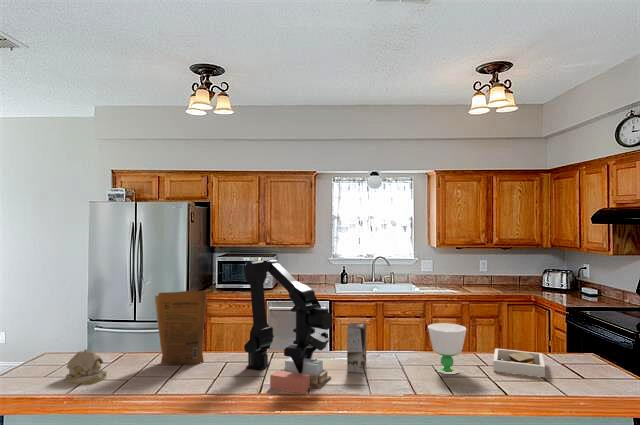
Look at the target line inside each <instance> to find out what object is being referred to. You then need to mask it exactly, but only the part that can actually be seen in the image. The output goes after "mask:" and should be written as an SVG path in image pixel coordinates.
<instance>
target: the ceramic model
mask: <svg viewBox="0 0 640 425" xmlns="http://www.w3.org/2000/svg"><path fill="white" fill-rule="evenodd" d="M103 363H104V360H103V359H102V357H101V356H100V355H98V354H97V353H96V352H94V351H90V350H89V349H83V351H81V350H80V351H77V352H76V354H75V355H73V356H72V357H71V359H70V360H68V362H67V365H66V369H68V373H67V374H66V376H65V382H67V383H68V382H70V383H69V384H95V383H98V382H100V381H103V380H104V379H105V378H107V371H106V370H102V369H101V368H102V364H103Z"/></svg>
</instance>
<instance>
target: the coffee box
mask: <svg viewBox="0 0 640 425" xmlns="http://www.w3.org/2000/svg"><path fill="white" fill-rule="evenodd" d="M346 329H347V331H346V332H347V334H346V335H347V338H346V339H347V340H346V341H347V342H346V351H347V352H346V353H347V354H346V358H347V359H346V361H347V362H346V363H347V364H346V372H347V373H359V374H364V373H365V369H366V367H367V323H366V322H349V324H348V326H347V328H346Z"/></svg>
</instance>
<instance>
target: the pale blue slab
mask: <svg viewBox="0 0 640 425" xmlns="http://www.w3.org/2000/svg"><path fill="white" fill-rule="evenodd" d="M323 365H324V364H323V360H321V359H313V358H311V359H307V358H304V362H303V370H302V373H299V372H298V370H297V368H296V366H295V364H294V362H293V360H292V358H291V357H288V358H287V359H286V360H285V361H284V367H285V371H290V372H292V373H299V374H305V375H317V376H318V379H319V375H320V374H321V373H323V369H324V368H323V367H324V366H323Z"/></svg>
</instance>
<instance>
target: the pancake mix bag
mask: <svg viewBox="0 0 640 425" xmlns="http://www.w3.org/2000/svg"><path fill="white" fill-rule="evenodd" d="M207 295H208V293H207V292H206V291H204V290H186V291H185V290H184V291H175V292H174V291H171V292H170V291H169V292H158V295H155V297H154V304H155V311H156V312H155V313H156V314H155V315H156V321H157V329H158V335H159V342H160V343H159V344H160V349H161V354H162V355H161V363H162V364H163V363H164V365H166V364H168V366H171V365H172V366H173V365H175V366H176V365H180V364H181V365H198V364H197V363H199V364H201V363H200V362H202V363H204V362H205V360H204V355H203V344H204V331H205V330H204V329H205V321H206V307H207Z"/></svg>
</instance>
